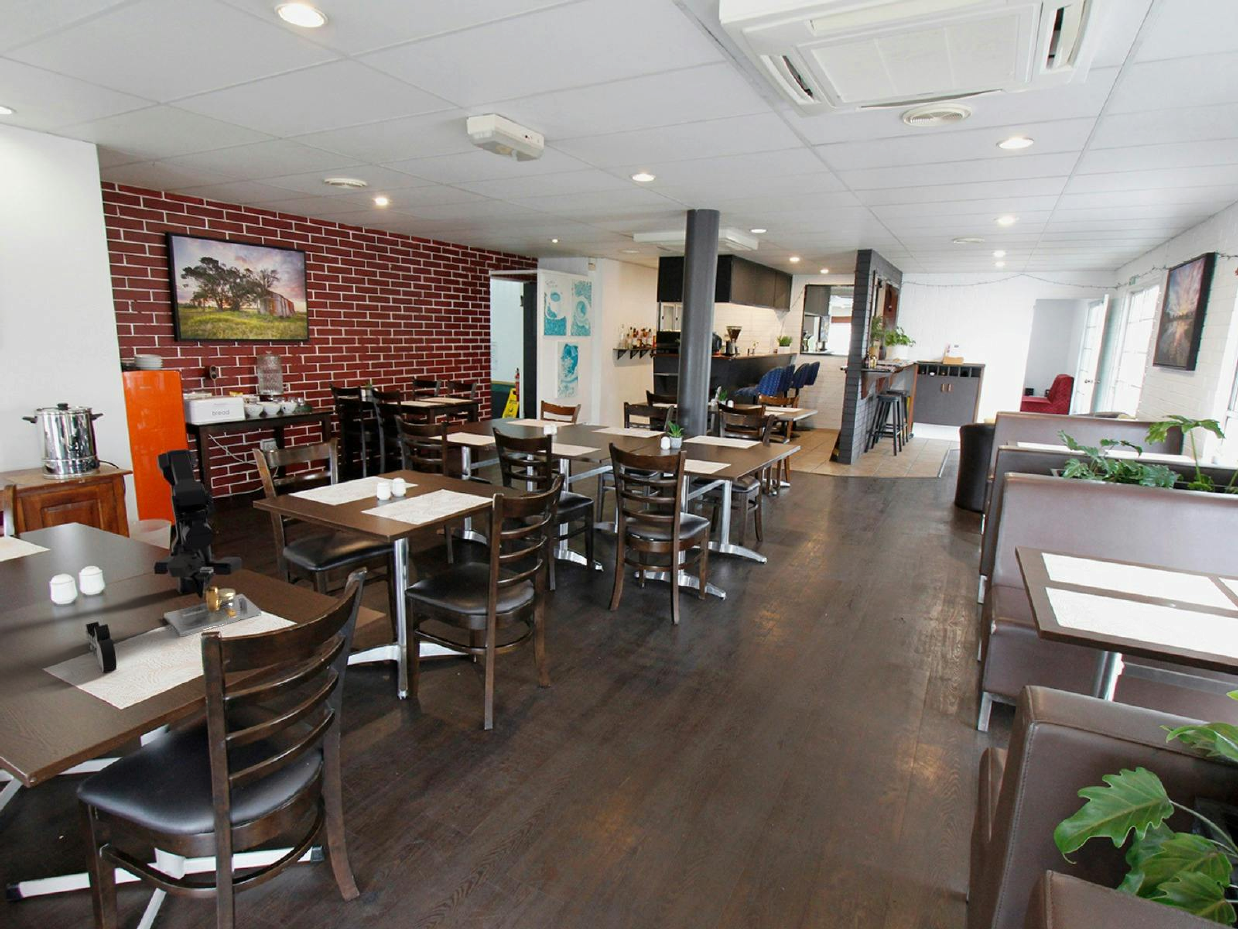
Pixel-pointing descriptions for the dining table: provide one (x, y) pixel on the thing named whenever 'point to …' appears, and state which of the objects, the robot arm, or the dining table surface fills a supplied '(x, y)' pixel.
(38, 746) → the dining table surface
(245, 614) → the base
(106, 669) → the logo
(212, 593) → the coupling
